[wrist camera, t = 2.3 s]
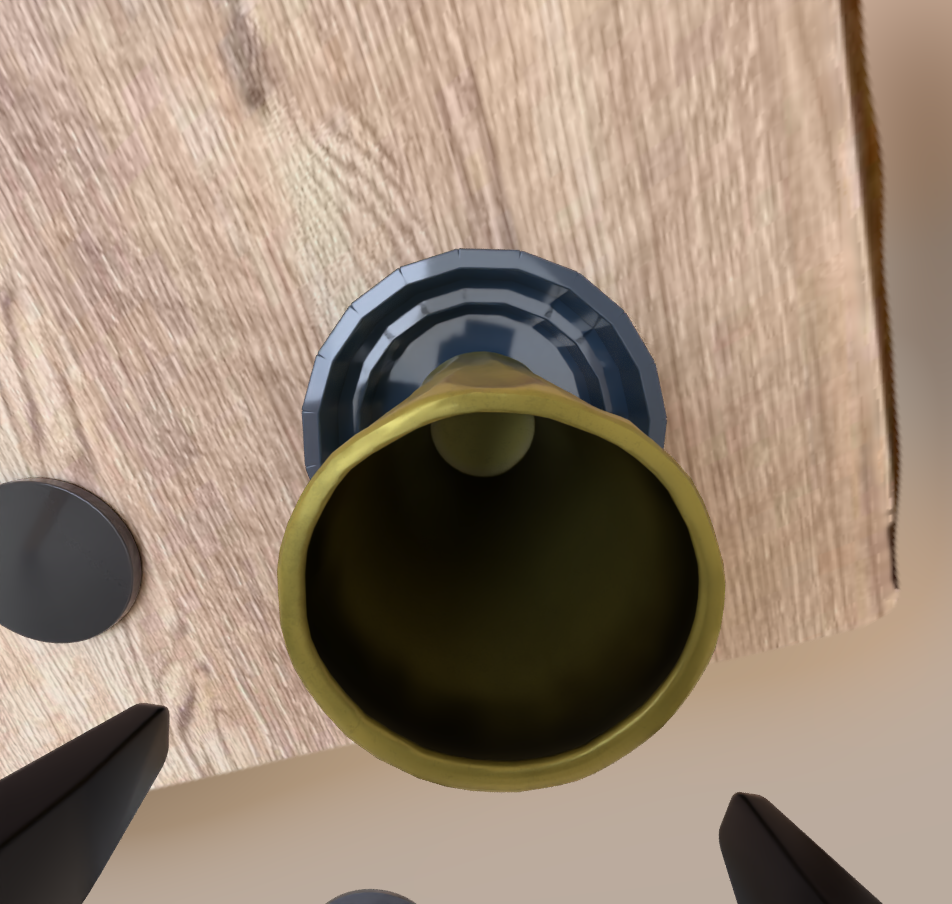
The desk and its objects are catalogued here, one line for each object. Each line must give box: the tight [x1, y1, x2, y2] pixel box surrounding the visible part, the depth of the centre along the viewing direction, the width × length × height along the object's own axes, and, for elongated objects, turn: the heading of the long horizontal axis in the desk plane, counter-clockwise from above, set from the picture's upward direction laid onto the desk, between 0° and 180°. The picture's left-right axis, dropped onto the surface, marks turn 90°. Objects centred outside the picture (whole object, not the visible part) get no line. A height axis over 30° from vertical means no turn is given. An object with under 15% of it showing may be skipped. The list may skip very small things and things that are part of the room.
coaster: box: [0, 478, 142, 643], centre depth 20 cm, size 8×8×1 cm
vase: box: [277, 351, 725, 792], centre depth 12 cm, size 6×6×14 cm
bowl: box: [302, 248, 667, 480], centre depth 17 cm, size 12×12×4 cm
